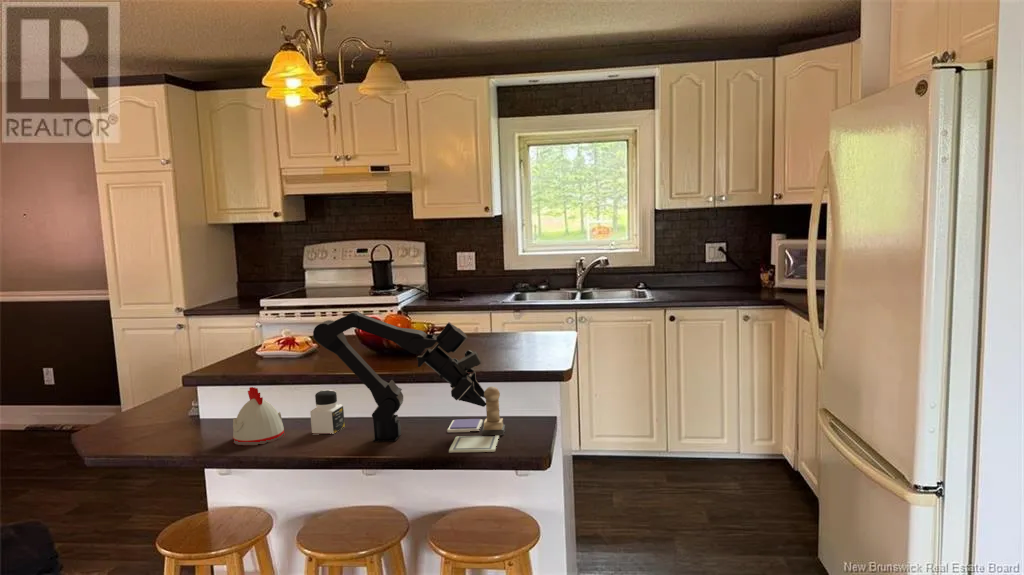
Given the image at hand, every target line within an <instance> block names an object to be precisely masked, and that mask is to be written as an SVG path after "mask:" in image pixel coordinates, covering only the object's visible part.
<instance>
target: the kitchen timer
mask: <svg viewBox="0 0 1024 575" xmlns="http://www.w3.org/2000/svg"><path fill="white" fill-rule="evenodd" d="M247 395H248V397H249V400H248V401H247V402H246V403H245V404H244V405H243V406H242V407H241V408H240V410H239V411H238V414H237V416H236V418H235V417H234V418H233V421H232V431H233V433H232V440H233V439H234V440H235V441H238V442H260V441H266V440H271V439H274V438H277V437H279V436H281V435H282V434H283V433H284V434H285V428H284V424H283V419H282V414H281V412H280V411H277V409H276V408H275V407H274V405H273V404H272V403H270V402H269V401H267V400H266V399H264V397H263V396H262V397H261V392H259V389H258V387H253V386H249V390H247Z"/></svg>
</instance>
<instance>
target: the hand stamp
mask: <svg viewBox="0 0 1024 575" xmlns="http://www.w3.org/2000/svg"><path fill="white" fill-rule="evenodd" d="M484 391H485V392H484V397H485V398H484V399H485V403H486V405H485V407H486V408H485V409H486V418H485V419H484V420H483V428H482V430H481V434H482V435H495V436H501V435H500V434H504V435H505V433H506V430H505V429H506V424H504V418H503V417H501V416H500V403H499V402H500V401H499V400H500V396H501V395H500V394H501V392H500V390H499V389H498V388H497V387H496V386H489V387H487V388H486V389H485V390H484ZM504 432H505V433H504ZM482 435H481V436H482Z"/></svg>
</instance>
